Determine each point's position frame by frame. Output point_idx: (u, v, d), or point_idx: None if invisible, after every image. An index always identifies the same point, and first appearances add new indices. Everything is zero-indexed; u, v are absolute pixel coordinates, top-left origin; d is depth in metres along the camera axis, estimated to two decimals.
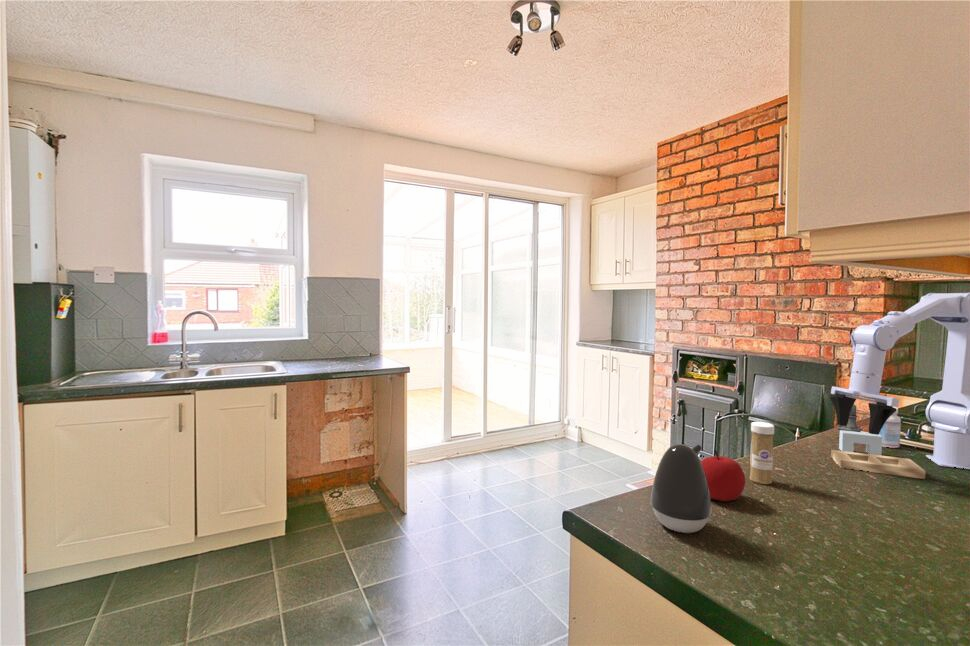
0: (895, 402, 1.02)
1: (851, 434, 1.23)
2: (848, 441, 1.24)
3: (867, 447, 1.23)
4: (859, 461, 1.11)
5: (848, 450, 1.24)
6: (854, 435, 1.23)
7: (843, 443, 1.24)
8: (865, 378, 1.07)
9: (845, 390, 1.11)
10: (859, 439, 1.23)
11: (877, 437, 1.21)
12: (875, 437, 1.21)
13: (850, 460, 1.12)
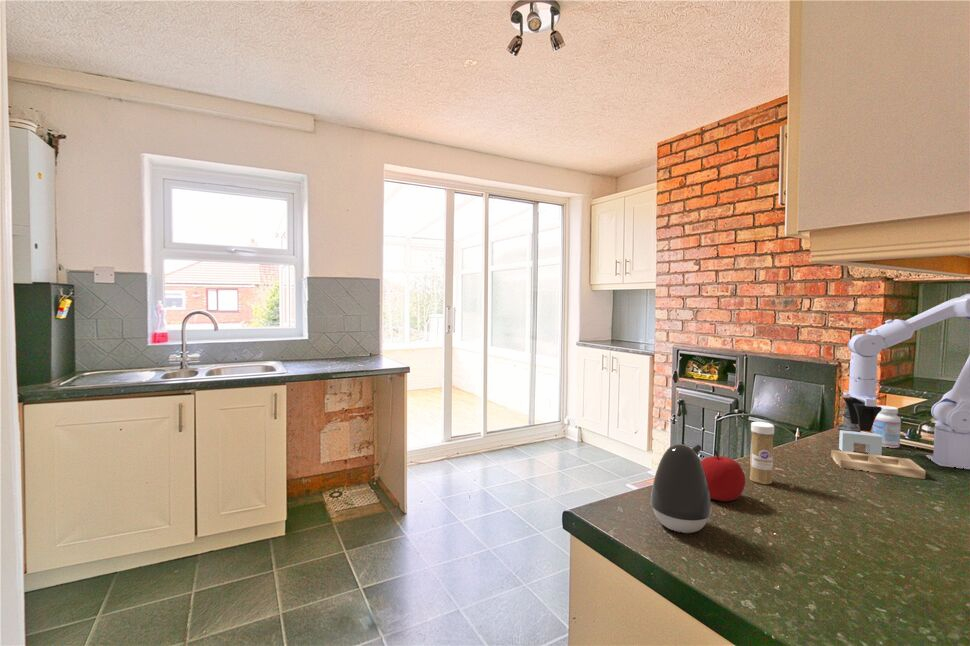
0: (870, 403, 1.17)
1: (851, 434, 1.23)
2: (848, 441, 1.24)
3: (867, 447, 1.23)
4: (859, 461, 1.11)
5: (848, 450, 1.24)
6: (854, 435, 1.23)
7: (843, 443, 1.24)
8: (854, 382, 1.22)
9: None
10: (859, 439, 1.23)
11: (877, 437, 1.21)
12: (875, 437, 1.21)
13: (850, 460, 1.12)
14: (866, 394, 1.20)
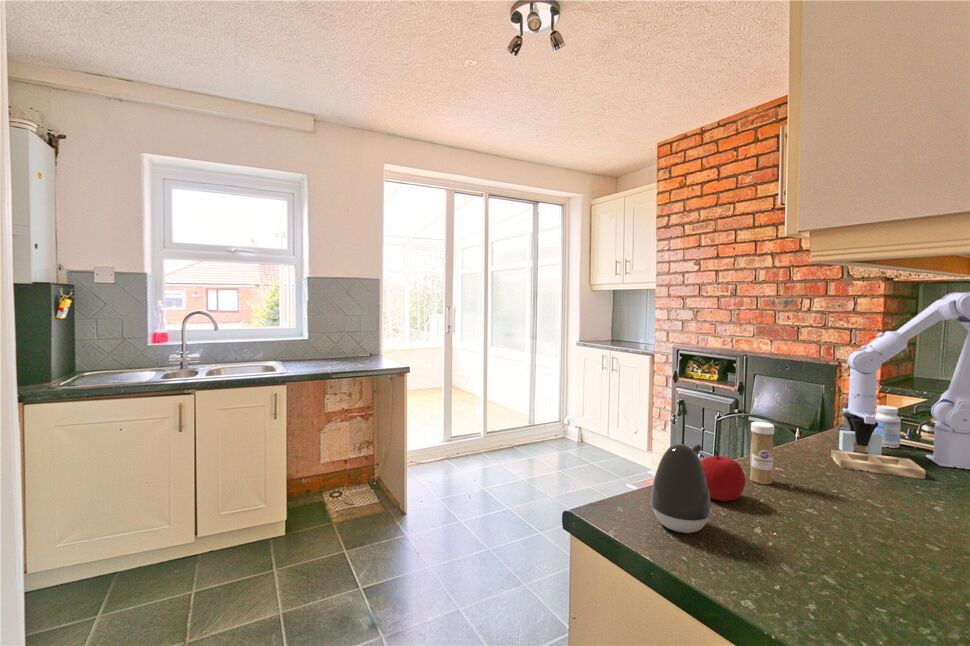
0: (870, 420, 1.17)
1: (851, 434, 1.23)
2: (848, 441, 1.24)
3: (867, 447, 1.23)
4: (859, 461, 1.11)
5: (848, 450, 1.24)
6: (854, 435, 1.23)
7: (843, 443, 1.24)
8: (853, 398, 1.23)
9: None
10: None
11: (877, 437, 1.21)
12: (875, 437, 1.21)
13: (850, 460, 1.12)
14: (865, 411, 1.21)
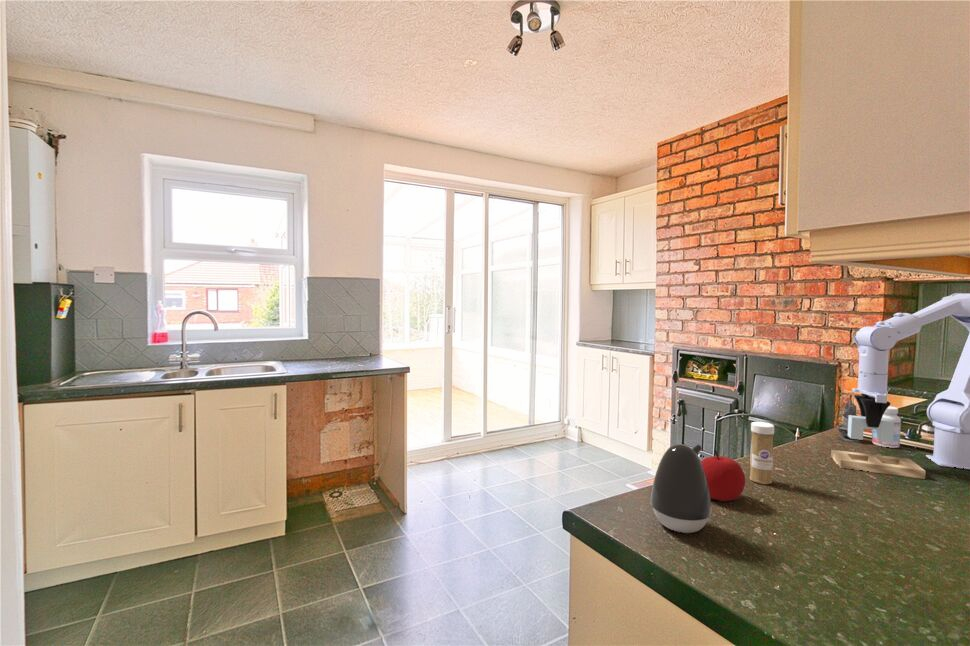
0: (881, 399, 1.10)
1: (861, 419, 1.16)
2: (857, 426, 1.16)
3: (878, 433, 1.16)
4: (859, 461, 1.11)
5: (857, 436, 1.17)
6: (864, 420, 1.16)
7: (852, 428, 1.17)
8: (863, 377, 1.15)
9: None
10: None
11: (889, 422, 1.14)
12: (886, 422, 1.14)
13: (850, 460, 1.12)
14: (876, 390, 1.13)
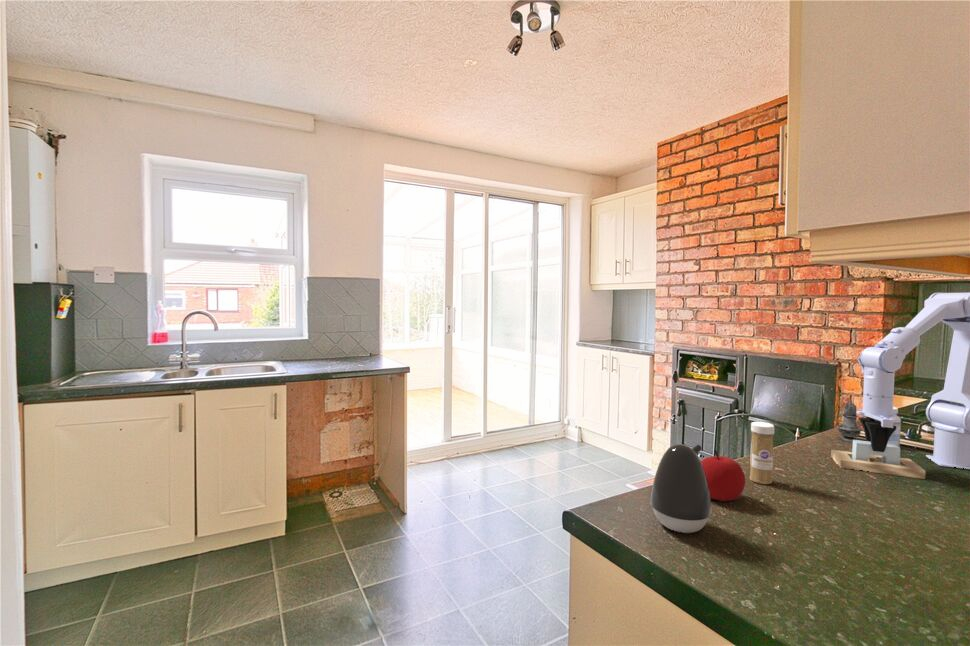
0: (887, 423, 1.06)
1: (866, 444, 1.13)
2: (862, 452, 1.13)
3: (883, 459, 1.13)
4: (859, 461, 1.11)
5: None
6: (869, 446, 1.12)
7: (857, 454, 1.13)
8: (868, 399, 1.12)
9: (862, 411, 1.16)
10: None
11: (895, 448, 1.10)
12: (892, 448, 1.10)
13: (850, 460, 1.12)
14: (882, 413, 1.10)
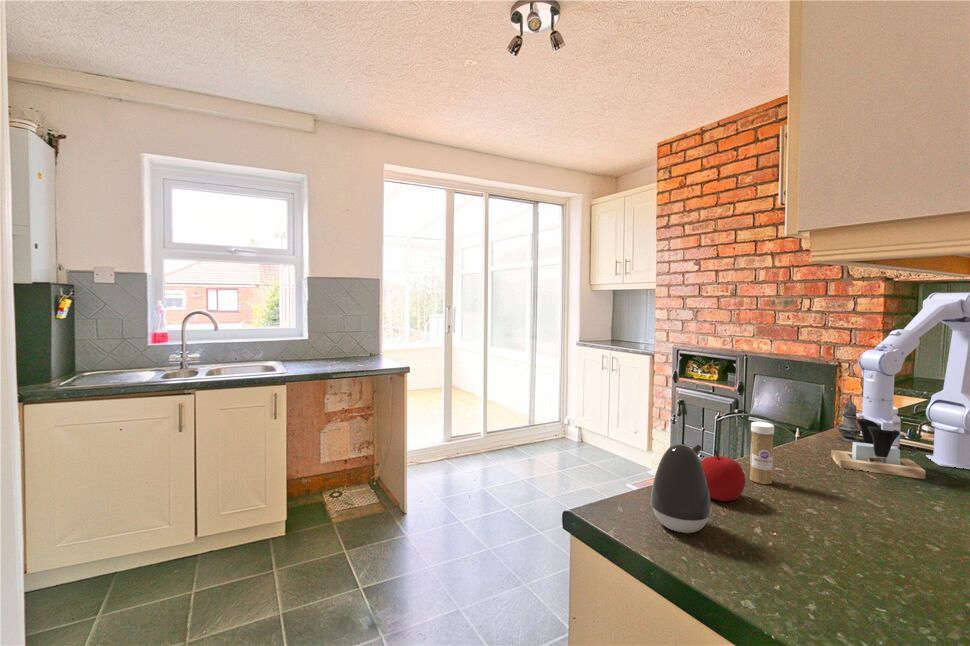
0: (887, 426, 1.06)
1: (865, 447, 1.13)
2: (862, 454, 1.13)
3: (883, 461, 1.13)
4: (859, 461, 1.11)
5: None
6: (869, 448, 1.12)
7: (857, 456, 1.13)
8: (868, 402, 1.12)
9: None
10: None
11: (894, 450, 1.10)
12: (892, 450, 1.10)
13: (850, 460, 1.12)
14: (882, 416, 1.10)
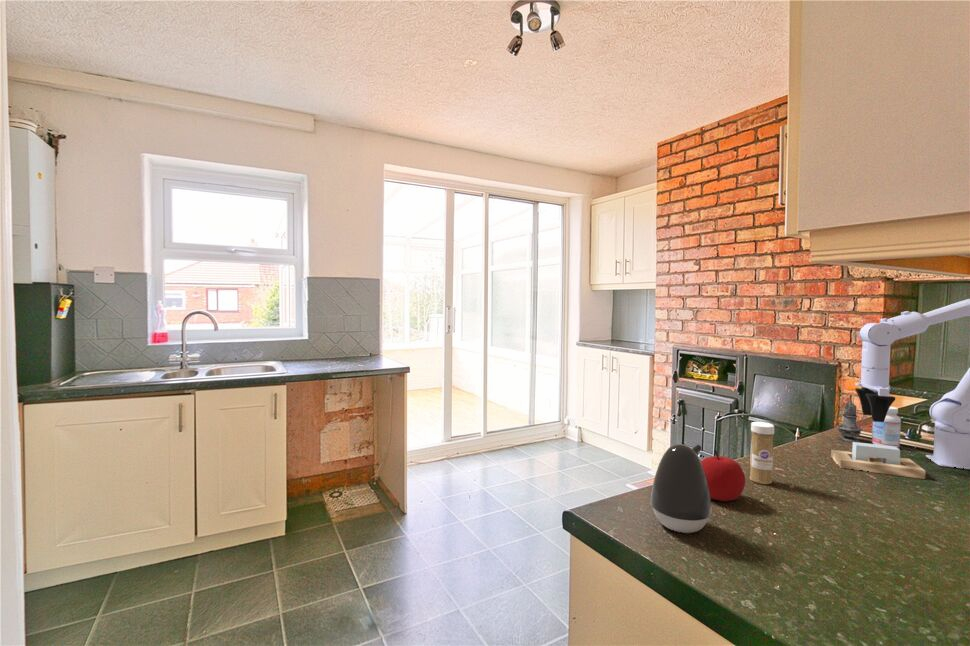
0: (884, 392, 1.14)
1: (865, 447, 1.13)
2: (862, 454, 1.13)
3: (883, 461, 1.13)
4: (859, 461, 1.11)
5: None
6: (869, 448, 1.12)
7: (857, 456, 1.13)
8: (866, 371, 1.20)
9: (860, 383, 1.24)
10: (874, 452, 1.12)
11: (894, 450, 1.10)
12: (892, 450, 1.10)
13: (850, 460, 1.12)
14: (879, 384, 1.18)
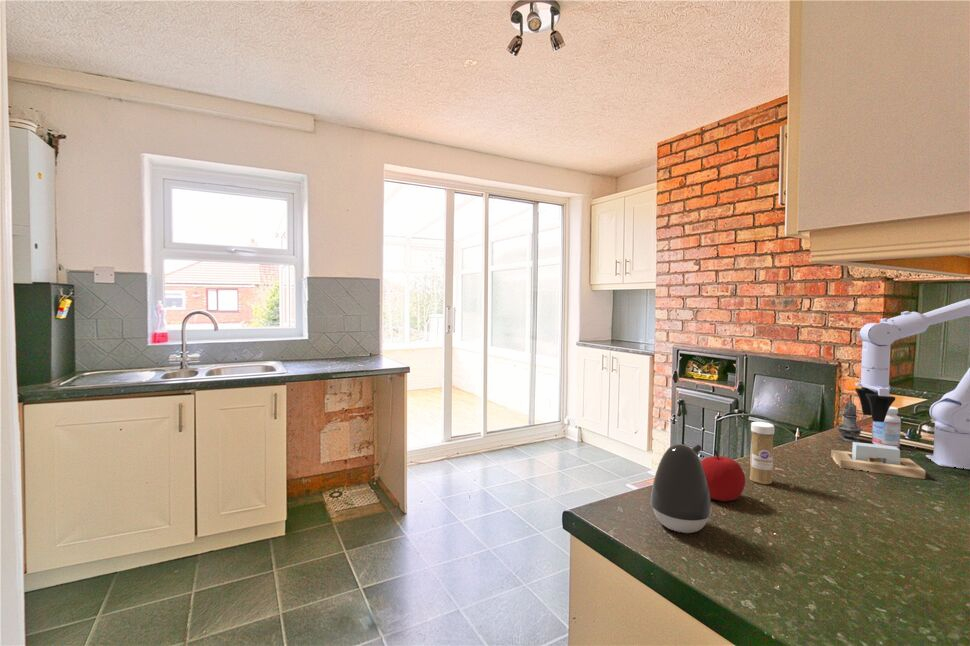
0: (884, 392, 1.14)
1: (865, 447, 1.13)
2: (862, 454, 1.13)
3: (883, 461, 1.13)
4: (859, 461, 1.11)
5: None
6: (869, 448, 1.12)
7: (857, 456, 1.13)
8: (866, 371, 1.20)
9: (860, 383, 1.24)
10: (874, 452, 1.12)
11: (894, 450, 1.10)
12: (892, 450, 1.10)
13: (850, 460, 1.12)
14: (879, 384, 1.18)
